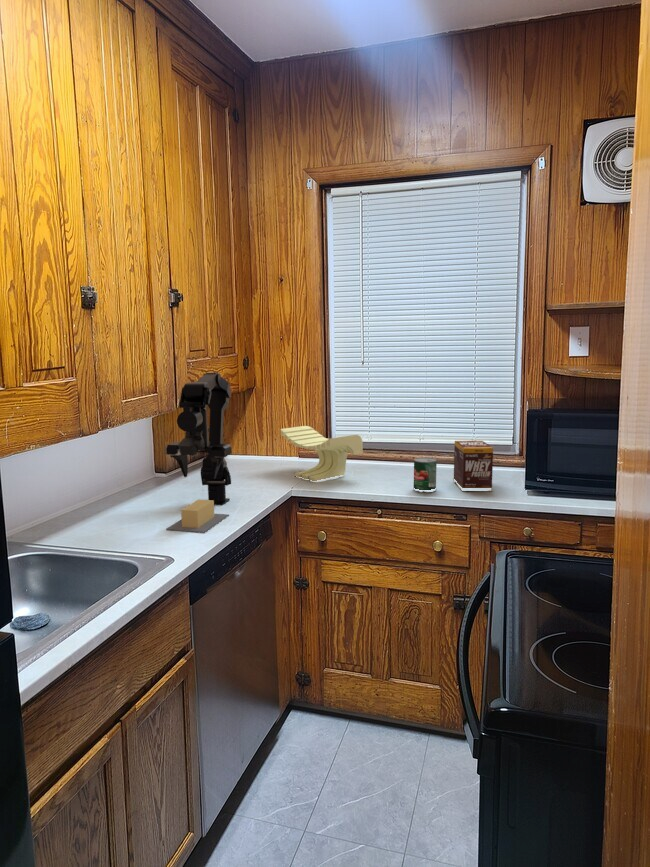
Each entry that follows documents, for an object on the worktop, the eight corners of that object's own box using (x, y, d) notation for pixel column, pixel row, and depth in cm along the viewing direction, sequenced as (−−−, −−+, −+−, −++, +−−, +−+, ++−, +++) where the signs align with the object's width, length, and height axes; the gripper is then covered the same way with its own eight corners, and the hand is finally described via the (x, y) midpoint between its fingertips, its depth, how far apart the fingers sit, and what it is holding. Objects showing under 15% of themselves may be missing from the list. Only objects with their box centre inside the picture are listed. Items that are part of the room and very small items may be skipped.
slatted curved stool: (362, 480, 236) (362, 433, 233) (330, 487, 226) (329, 438, 223) (312, 467, 258) (312, 424, 256) (281, 473, 248) (280, 429, 246)
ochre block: (198, 499, 190) (181, 509, 179) (213, 500, 189) (197, 510, 178) (199, 515, 191) (182, 526, 180) (214, 516, 190) (198, 527, 179)
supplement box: (462, 492, 217) (463, 448, 215) (453, 481, 233) (454, 440, 230) (492, 491, 217) (493, 447, 215) (481, 481, 233) (482, 440, 230)
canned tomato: (410, 491, 219) (410, 460, 217) (417, 486, 226) (417, 456, 224) (432, 494, 215) (433, 462, 213) (438, 488, 222) (439, 458, 220)
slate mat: (193, 513, 195) (193, 512, 195) (229, 515, 192) (229, 514, 192) (166, 530, 178) (166, 528, 178) (204, 533, 175) (204, 531, 175)
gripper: (154, 429, 178) (157, 482, 181) (215, 431, 174) (217, 486, 176) (173, 423, 189) (176, 473, 191) (231, 425, 184) (233, 476, 187)
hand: (199, 477), depth 186 cm, fingers open, 9 cm apart
